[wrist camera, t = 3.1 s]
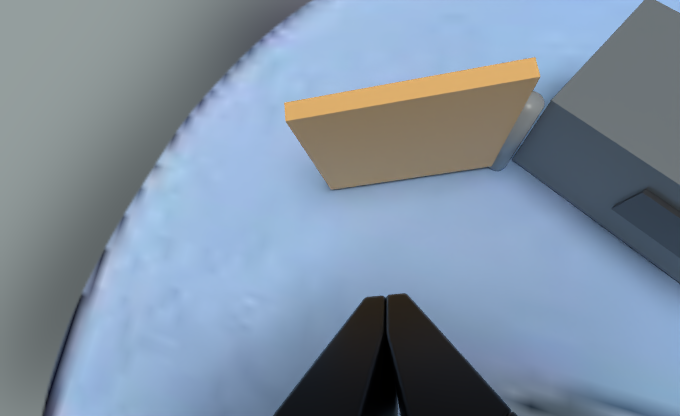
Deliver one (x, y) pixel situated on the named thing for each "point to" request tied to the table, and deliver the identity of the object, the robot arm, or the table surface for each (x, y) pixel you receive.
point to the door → (419, 125)
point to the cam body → (620, 136)
